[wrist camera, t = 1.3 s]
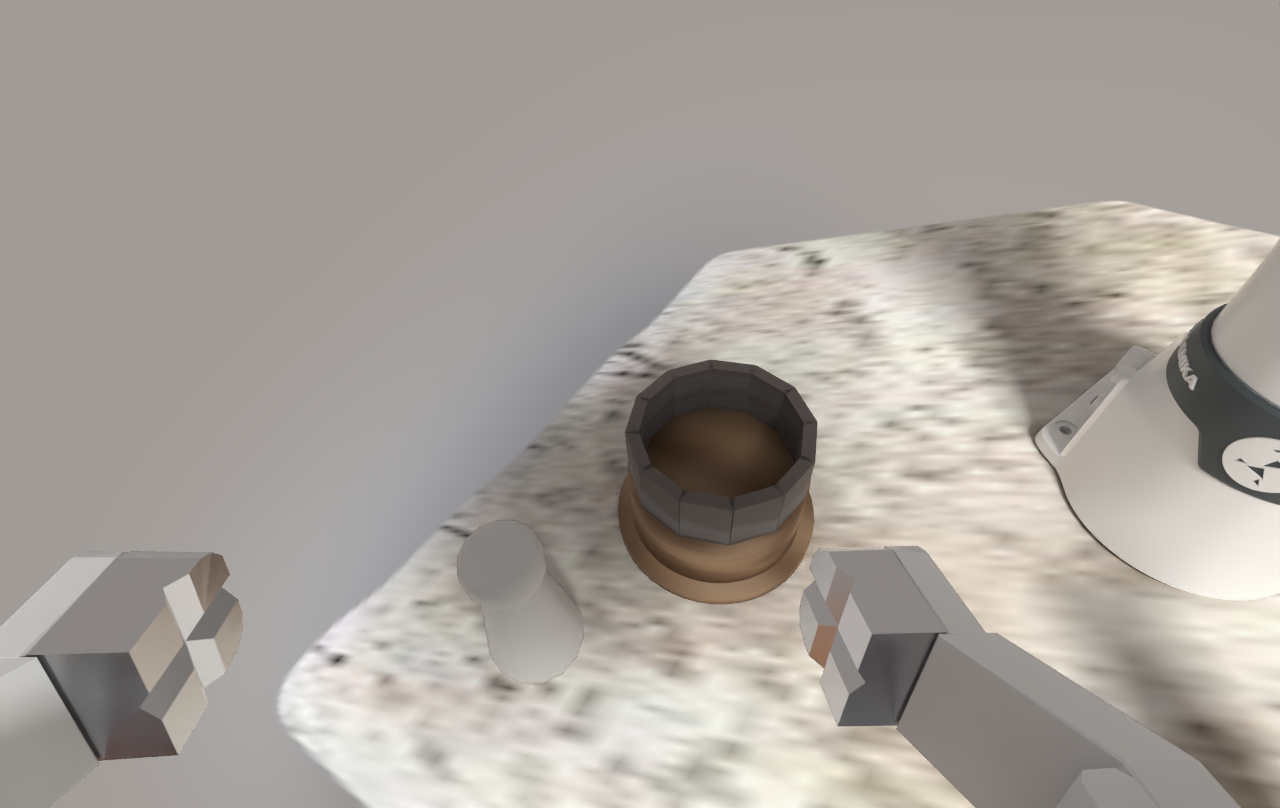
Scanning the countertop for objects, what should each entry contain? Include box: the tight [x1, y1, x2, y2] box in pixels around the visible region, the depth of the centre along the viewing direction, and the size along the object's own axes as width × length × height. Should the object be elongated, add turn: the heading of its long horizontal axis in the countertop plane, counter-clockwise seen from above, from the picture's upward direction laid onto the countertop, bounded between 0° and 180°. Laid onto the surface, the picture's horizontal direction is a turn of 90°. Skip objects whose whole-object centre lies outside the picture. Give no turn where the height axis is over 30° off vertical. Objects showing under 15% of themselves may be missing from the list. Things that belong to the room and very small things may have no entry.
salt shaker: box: [457, 520, 584, 683], centre depth 34 cm, size 6×6×13 cm
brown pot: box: [619, 360, 817, 604], centre depth 41 cm, size 14×14×10 cm
